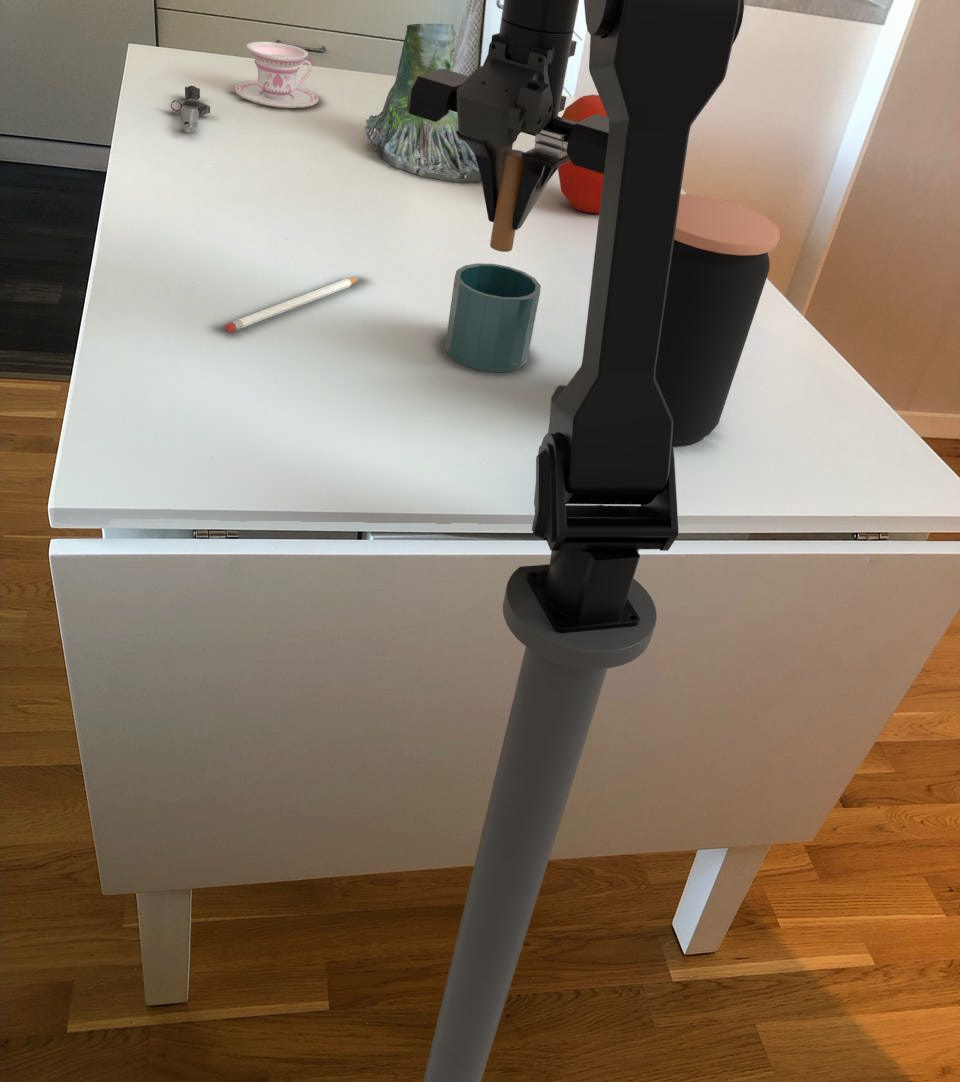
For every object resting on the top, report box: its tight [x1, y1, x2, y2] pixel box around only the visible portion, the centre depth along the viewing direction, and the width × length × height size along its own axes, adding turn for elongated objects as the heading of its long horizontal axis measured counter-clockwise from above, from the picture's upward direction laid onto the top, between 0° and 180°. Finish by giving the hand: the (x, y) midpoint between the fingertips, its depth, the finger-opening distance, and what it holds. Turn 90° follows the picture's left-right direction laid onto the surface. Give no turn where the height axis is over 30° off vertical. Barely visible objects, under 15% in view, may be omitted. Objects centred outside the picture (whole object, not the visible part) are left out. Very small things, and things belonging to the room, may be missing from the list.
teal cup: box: [445, 262, 542, 373], centre depth 99 cm, size 8×8×7 cm
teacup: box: [233, 41, 320, 109], centre depth 153 cm, size 12×12×6 cm
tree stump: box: [364, 22, 482, 183], centre depth 141 cm, size 18×20×18 cm
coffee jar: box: [655, 193, 781, 447], centre depth 91 cm, size 11×11×18 cm
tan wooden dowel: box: [489, 148, 526, 253], centre depth 92 cm, size 2×2×8 cm
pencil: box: [224, 277, 360, 334], centre depth 103 cm, size 1×19×1 cm, turn 146°
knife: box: [170, 85, 211, 134], centre depth 140 cm, size 19×2×5 cm
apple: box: [557, 94, 608, 214], centre depth 133 cm, size 12×12×14 cm
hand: (504, 224), depth 94 cm, fingers closed on tan wooden dowel, 2 cm apart
